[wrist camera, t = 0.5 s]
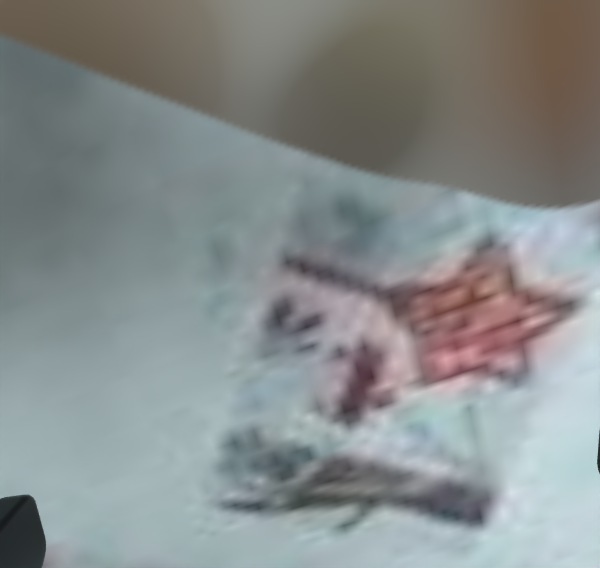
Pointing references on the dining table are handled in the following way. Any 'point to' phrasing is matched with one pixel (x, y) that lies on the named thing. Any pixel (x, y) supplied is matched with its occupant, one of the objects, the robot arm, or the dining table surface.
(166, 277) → the dining table surface
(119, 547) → the dining table surface
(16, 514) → the robot arm
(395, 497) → the dining table surface
